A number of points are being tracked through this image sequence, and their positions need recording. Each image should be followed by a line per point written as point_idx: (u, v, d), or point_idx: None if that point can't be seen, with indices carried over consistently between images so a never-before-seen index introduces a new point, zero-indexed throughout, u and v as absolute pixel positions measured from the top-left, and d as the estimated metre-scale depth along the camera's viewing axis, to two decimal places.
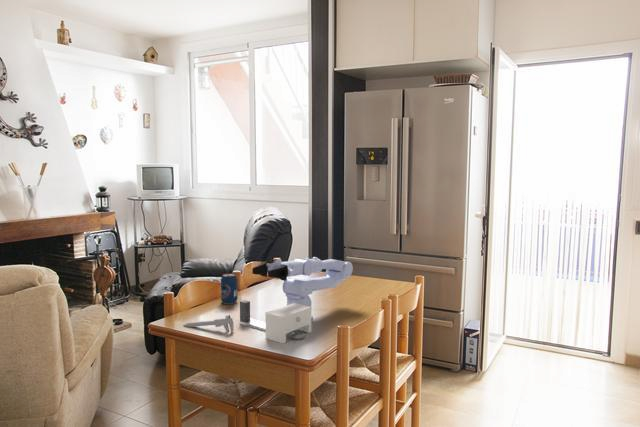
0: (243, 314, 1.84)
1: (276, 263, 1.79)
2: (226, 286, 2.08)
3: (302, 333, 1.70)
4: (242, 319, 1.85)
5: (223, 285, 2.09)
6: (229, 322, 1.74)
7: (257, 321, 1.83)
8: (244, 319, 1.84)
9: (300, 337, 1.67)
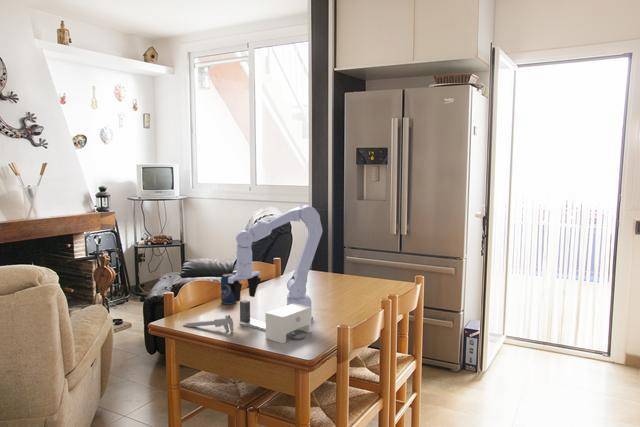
0: (243, 314, 1.84)
1: None
2: (226, 286, 2.08)
3: (302, 333, 1.70)
4: (242, 319, 1.85)
5: (223, 285, 2.09)
6: (229, 322, 1.74)
7: (257, 321, 1.83)
8: (244, 319, 1.84)
9: (300, 337, 1.67)
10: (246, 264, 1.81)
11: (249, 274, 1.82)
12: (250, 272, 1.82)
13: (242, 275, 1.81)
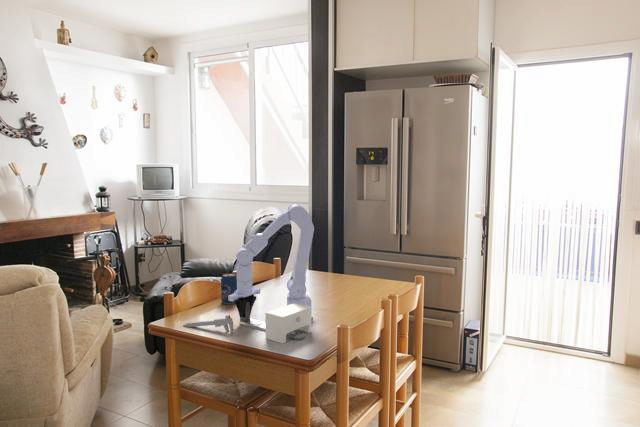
0: None
1: None
2: (226, 286, 2.08)
3: (302, 333, 1.70)
4: (242, 319, 1.85)
5: (223, 285, 2.09)
6: (229, 322, 1.74)
7: (257, 321, 1.83)
8: (244, 319, 1.84)
9: (300, 337, 1.67)
10: (246, 282, 1.81)
11: (249, 292, 1.83)
12: (250, 290, 1.83)
13: (242, 293, 1.82)
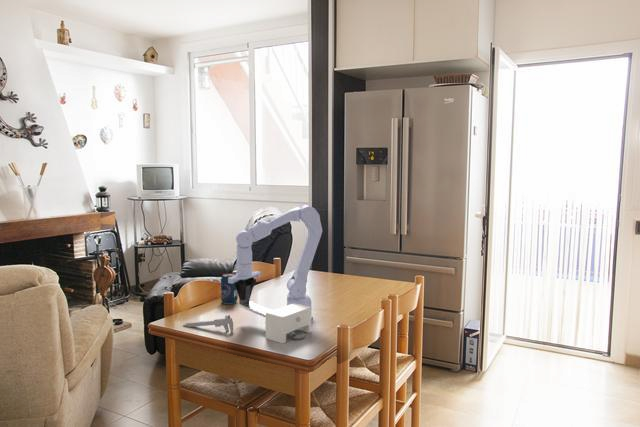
0: None
1: None
2: (226, 286, 2.08)
3: (302, 333, 1.70)
4: (241, 302, 1.84)
5: (223, 285, 2.09)
6: (229, 322, 1.74)
7: (256, 305, 1.83)
8: (243, 302, 1.83)
9: (300, 337, 1.67)
10: (246, 264, 1.81)
11: (249, 274, 1.82)
12: (250, 272, 1.82)
13: (242, 275, 1.81)
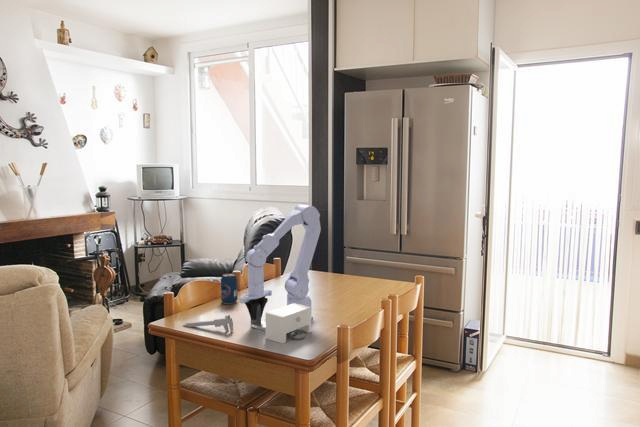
0: None
1: None
2: (226, 286, 2.08)
3: (302, 333, 1.70)
4: (253, 322, 1.81)
5: (223, 285, 2.09)
6: (229, 322, 1.74)
7: None
8: (255, 322, 1.81)
9: (300, 337, 1.67)
10: (258, 284, 1.78)
11: (261, 294, 1.79)
12: (262, 292, 1.79)
13: (254, 295, 1.78)
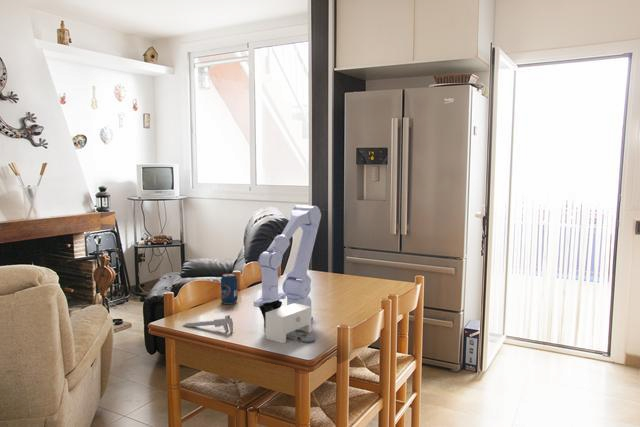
0: None
1: None
2: (226, 286, 2.08)
3: (311, 336, 1.67)
4: None
5: (223, 285, 2.09)
6: (229, 323, 1.74)
7: None
8: None
9: (309, 340, 1.65)
10: (272, 287, 1.73)
11: (275, 297, 1.75)
12: (276, 295, 1.75)
13: (268, 298, 1.74)
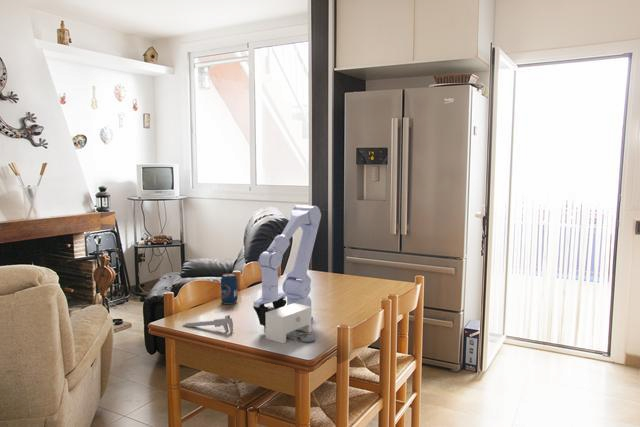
0: None
1: None
2: (226, 286, 2.08)
3: (311, 336, 1.67)
4: None
5: (223, 285, 2.09)
6: (229, 322, 1.74)
7: None
8: None
9: (309, 340, 1.65)
10: (272, 287, 1.73)
11: (275, 297, 1.75)
12: (276, 295, 1.75)
13: (268, 298, 1.74)
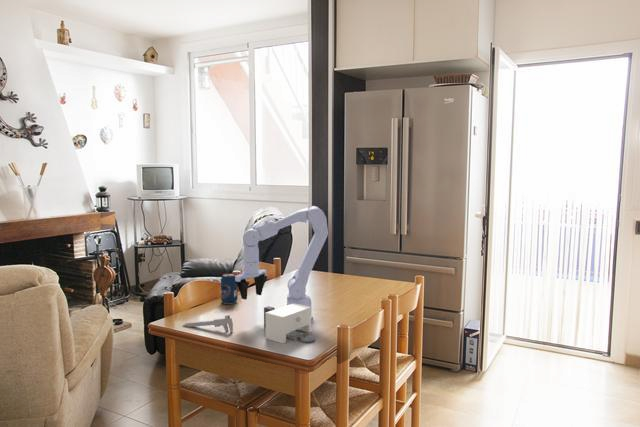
0: None
1: None
2: (226, 286, 2.08)
3: (311, 336, 1.67)
4: None
5: (223, 285, 2.09)
6: (229, 322, 1.74)
7: None
8: None
9: (309, 340, 1.65)
10: (253, 262, 1.82)
11: (256, 272, 1.83)
12: (257, 270, 1.84)
13: (249, 273, 1.82)
